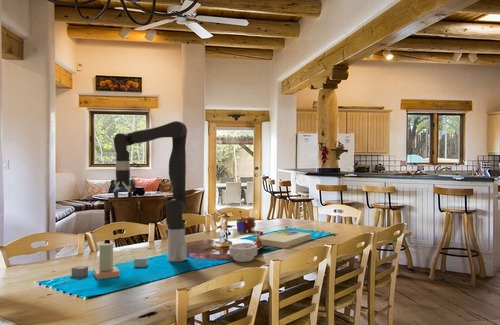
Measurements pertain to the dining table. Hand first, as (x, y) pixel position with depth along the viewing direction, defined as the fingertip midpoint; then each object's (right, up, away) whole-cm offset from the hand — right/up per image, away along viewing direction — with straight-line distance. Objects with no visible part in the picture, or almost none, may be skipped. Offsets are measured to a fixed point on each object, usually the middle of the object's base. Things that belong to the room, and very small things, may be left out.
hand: (123, 198), depth 228 cm
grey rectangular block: (-10, -34, -33) cm, 48 cm away
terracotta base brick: (+2, -34, -33) cm, 47 cm away
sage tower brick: (+2, -31, -33) cm, 45 cm away
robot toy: (+67, -33, +82) cm, 111 cm away
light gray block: (+14, -33, -16) cm, 39 cm away
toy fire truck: (+76, -33, +24) cm, 86 cm away
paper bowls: (+67, -33, -5) cm, 75 cm away
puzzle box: (+92, -33, +45) cm, 108 cm away
